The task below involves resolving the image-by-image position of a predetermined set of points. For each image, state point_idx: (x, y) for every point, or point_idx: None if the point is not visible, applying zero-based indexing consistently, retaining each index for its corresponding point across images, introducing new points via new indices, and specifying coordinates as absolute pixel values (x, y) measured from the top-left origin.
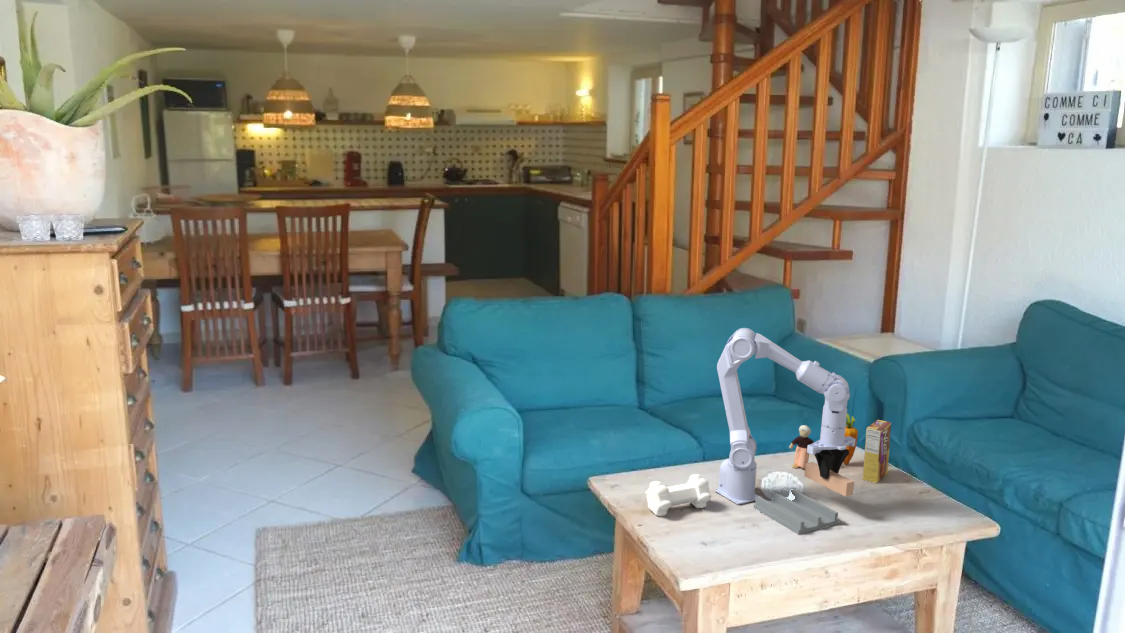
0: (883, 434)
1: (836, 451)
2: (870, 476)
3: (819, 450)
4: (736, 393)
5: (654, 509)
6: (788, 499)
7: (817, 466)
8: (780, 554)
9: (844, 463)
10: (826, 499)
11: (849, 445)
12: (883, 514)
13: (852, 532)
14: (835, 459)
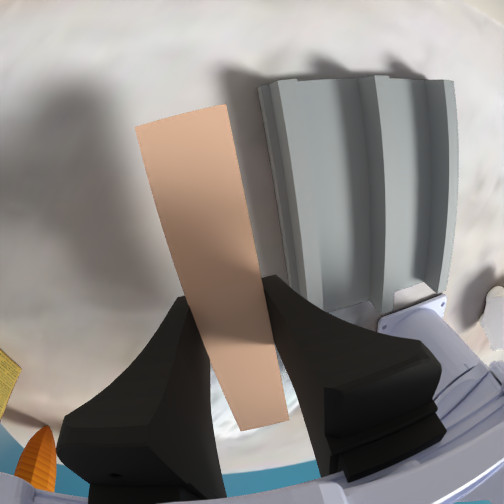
0: None
1: (194, 471)
2: (1, 365)
3: (459, 434)
4: None
5: None
6: (386, 256)
7: (253, 395)
8: (495, 37)
9: (50, 429)
10: (174, 291)
11: (40, 492)
12: (33, 136)
13: (249, 14)
14: (193, 402)
